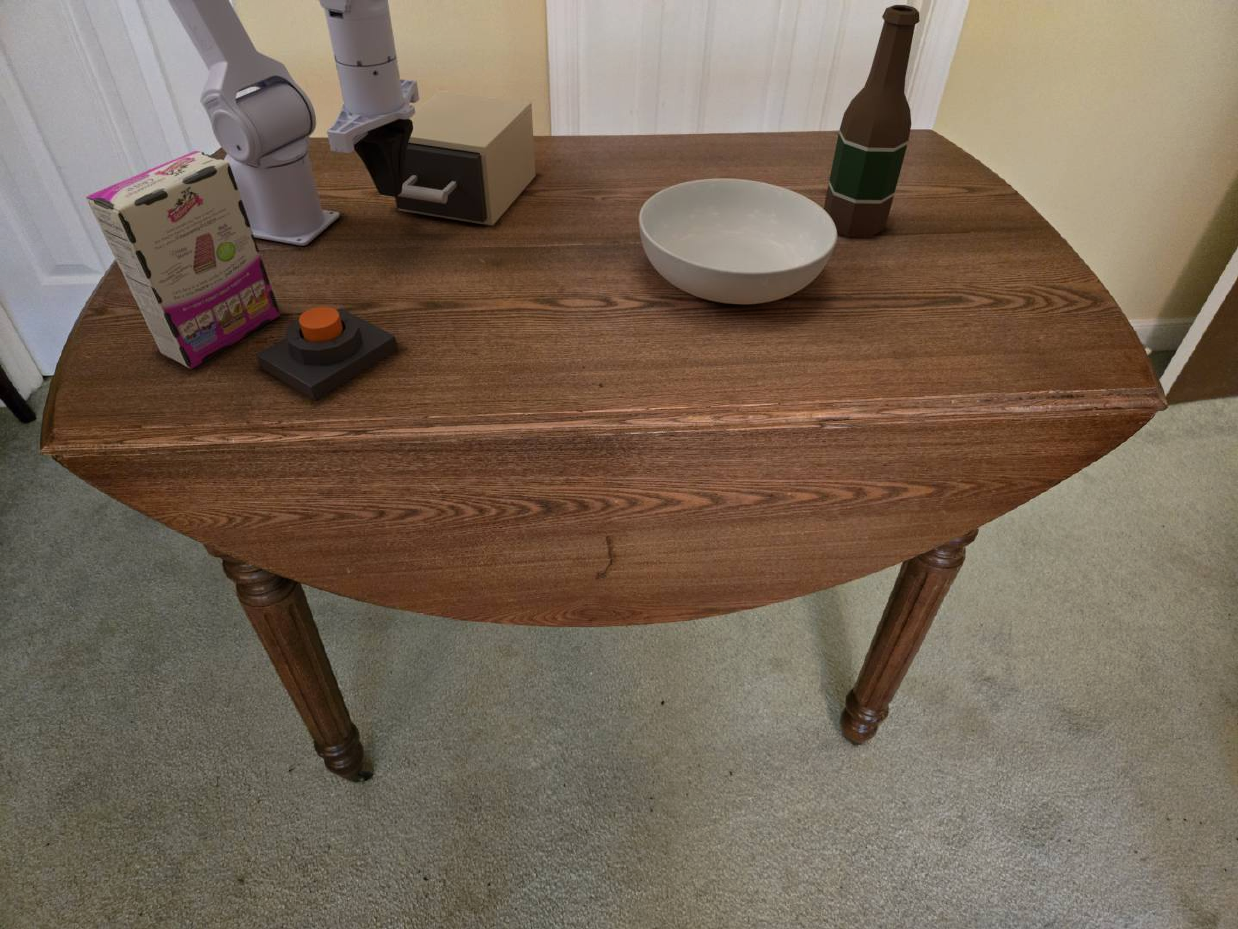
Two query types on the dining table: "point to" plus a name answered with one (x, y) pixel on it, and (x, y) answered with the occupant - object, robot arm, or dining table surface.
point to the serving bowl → (736, 239)
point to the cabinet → (482, 141)
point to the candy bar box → (188, 255)
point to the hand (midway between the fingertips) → (390, 193)
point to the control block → (327, 356)
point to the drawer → (443, 183)
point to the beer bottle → (874, 135)
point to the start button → (320, 324)
